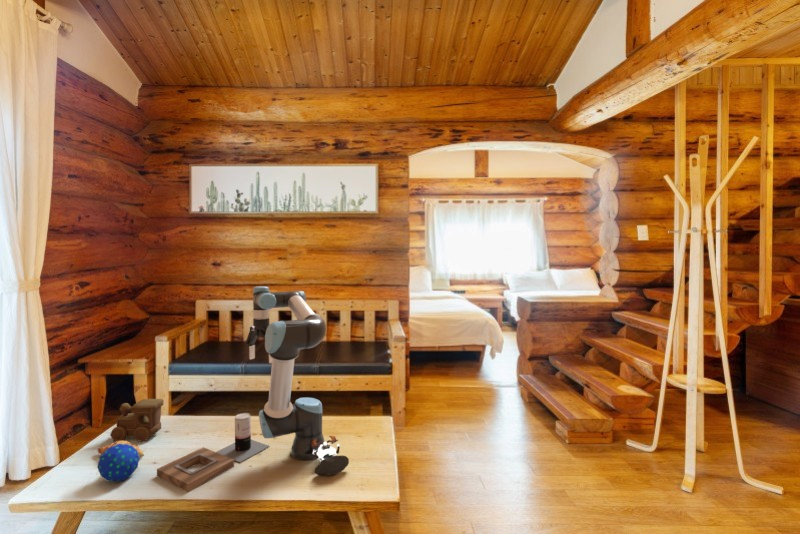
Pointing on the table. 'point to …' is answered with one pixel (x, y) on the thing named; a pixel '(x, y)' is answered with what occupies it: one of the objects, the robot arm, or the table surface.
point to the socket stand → (190, 480)
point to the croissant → (102, 450)
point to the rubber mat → (242, 456)
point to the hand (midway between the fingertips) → (261, 360)
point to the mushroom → (118, 462)
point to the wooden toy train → (138, 420)
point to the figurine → (329, 458)
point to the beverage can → (242, 432)
